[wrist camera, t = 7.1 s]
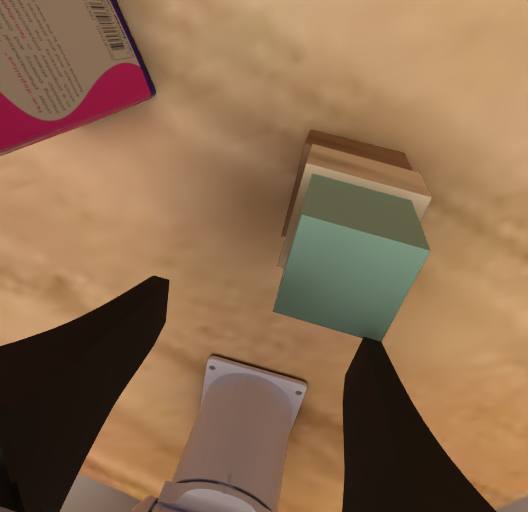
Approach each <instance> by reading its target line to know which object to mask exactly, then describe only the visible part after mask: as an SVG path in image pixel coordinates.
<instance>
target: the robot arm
mask: <svg viewBox="0 0 528 512" xmlns="http://www.w3.org/2000/svg"><path fill="white" fill-rule="evenodd" d="M168 291H169V280H167V279H164V278H161V277H157V276H152V277H150V278H148V279H147V280H145V281H143V282H142V283H140V284H138V285H137V286H135V287H133V288H132V289H130V290H128V291H127V292H125V293H123V294H122V295H120V296H118V297H117V298H115V299H113V300H111V301H110V302H108V303H106V304H104V305H102V306H101V307H99V308H97V309H95V310H93V311H91V312H89V313H87V314H85V315H83V316H81V317H79V318H77V319H75V320H73V321H70V322H68V323H66V324H63V325H61V326H58V327H56V328H53V329H51V330H48V331H45V332H43V333H40V334H37V335H34V336H31V337H28V338H25V339H22V340H19V341H16V342H13V343H9V344H6V345H3V346H0V512H60V509H61V508H62V505H63V503H64V501H65V499H66V497H67V495H68V493H69V491H70V489H71V487H72V484H73V482H74V480H75V478H76V476H77V474H78V472H79V470H80V468H81V466H82V464H83V462H84V460H85V458H86V456H87V455H88V453H89V451H90V449H91V447H92V445H93V443H94V441H95V439H96V437H97V435H98V433H99V431H100V430H101V428H102V426H103V424H104V422H105V420H106V419H107V417H108V415H109V413H110V411H111V409H112V408H113V406H114V404H115V403H116V401H117V399H118V398H119V396H120V395H121V393H122V392H123V390H124V389H125V387H126V386H127V384H128V383H129V381H130V380H131V378H132V377H133V375H134V374H135V373H136V371H137V370H138V368H139V367H140V365H141V364H142V362H143V361H144V359H145V358H146V356H147V355H148V353H149V352H150V350H151V349H152V347H153V346H154V344H155V342H156V340H157V338H158V336H159V334H160V332H161V330H162V328H163V326H164V324H165V322H166V313H167V302H168ZM306 390H307V384H306V383H305V382H303V381H300V380H297V379H293V378H290V377H286V376H283V375H279V374H276V373H272V372H269V371H265V370H262V369H258V368H255V367H251V366H248V365H245V364H241V363H238V362H234V361H231V360H227V359H224V358H220V357H217V356H210V357H209V359H208V361H207V366H206V372H205V379H204V385H203V391H202V397H201V403H200V410H199V413H198V416H197V418H196V421H195V423H194V426H193V428H192V431H191V433H190V436H189V439H188V441H187V444H186V446H185V449H184V451H183V454H182V456H181V459H180V462H179V464H178V467H177V469H176V472H175V474H174V477H173V479H172V482H169V481H166V482H165V484H164V486H163V489H162V491H161V493H160V496H159V498H157V497H155V496H152V495H150V496H148V497H146V498H145V499H144V500H143V501H142V502H140V503H139V504H137V505H136V506H135V507H134V509H133V510H132V511H131V512H277V511H278V504H279V497H280V490H281V483H282V477H283V470H284V463H285V456H286V450H287V443H288V436H289V434H290V431H291V429H292V426H293V423H294V421H295V418H296V416H297V413H298V411H299V408H300V406H301V403H302V401H303V398H304V395H305V393H306ZM343 432H344V462H345V473H344V493H343V508H342V512H496V511H495V510H494V509H493V507H492V506H491V505H490V504H489V503H488V502H487V501H486V500H485V499H484V498H483V497H482V496H481V495H480V493H479V492H478V491H477V490H476V489H475V488H474V487H473V485H472V484H471V483H470V482H469V481H468V480H467V478H466V477H465V476H464V475H463V474H462V472H461V471H460V470H459V469H458V467H457V466H456V465H455V464H454V462H453V461H452V460H451V459H450V457H449V456H448V455H447V453H446V452H445V451H444V450H443V448H442V447H441V445H440V444H439V443H438V441H437V440H436V438H435V437H434V436H433V434H432V433H431V431H430V430H429V428H428V427H427V425H426V424H425V422H424V421H423V419H422V417H421V416H420V414H419V413H418V411H417V409H416V408H415V406H414V404H413V403H412V401H411V399H410V397H409V395H408V394H407V392H406V390H405V388H404V386H403V384H402V383H401V381H400V379H399V377H398V375H397V373H396V371H395V369H394V367H393V365H392V363H391V361H390V359H389V357H388V355H387V353H386V350H385V348H384V346H383V344H382V343H381V341H377V340H374V339H370V338H367V337H364V338H363V340H362V342H361V344H360V346H359V348H358V350H357V352H356V354H355V356H354V358H353V360H352V362H351V364H350V366H349V369H348V371H347V373H346V375H345V383H344V393H343Z"/></svg>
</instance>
